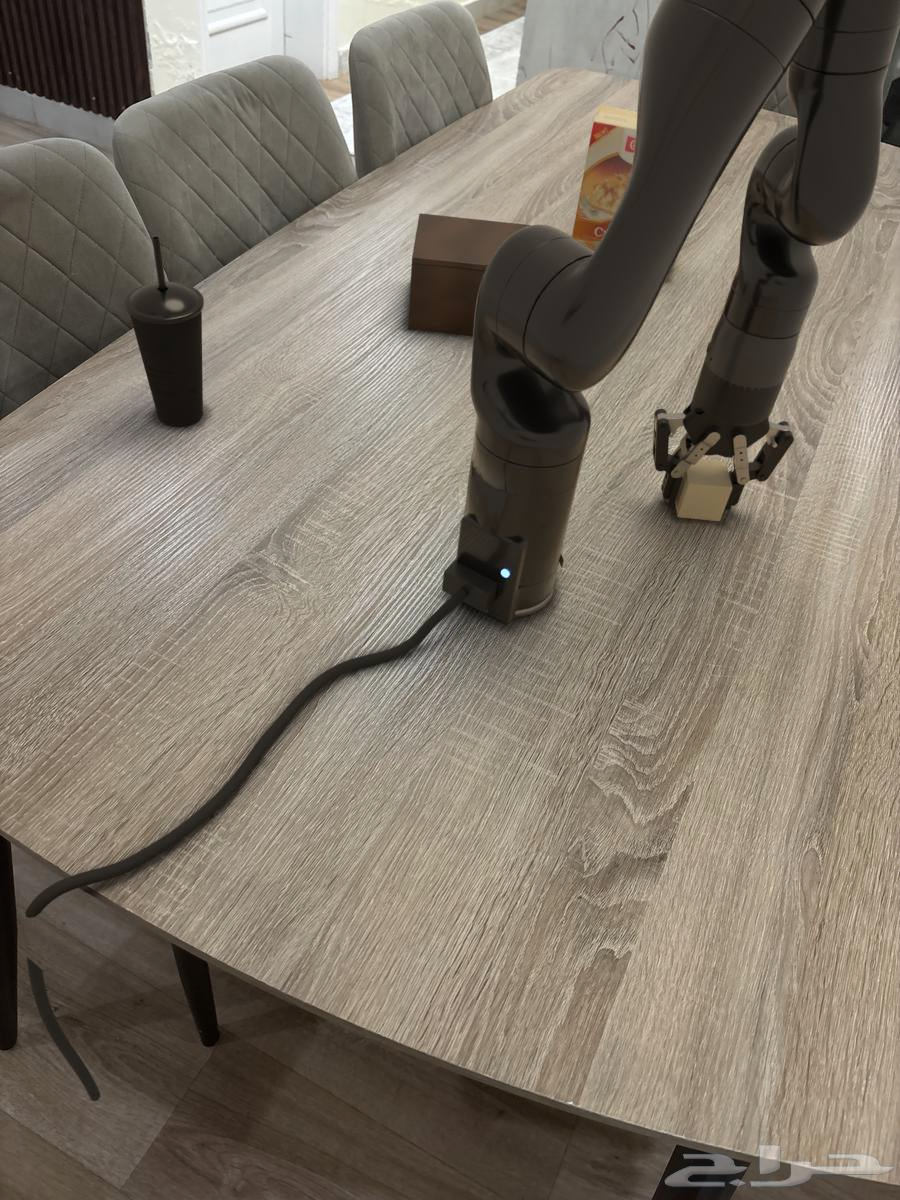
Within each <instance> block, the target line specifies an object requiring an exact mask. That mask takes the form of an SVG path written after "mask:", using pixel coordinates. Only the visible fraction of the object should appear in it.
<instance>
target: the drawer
mask: <svg viewBox="0 0 900 1200" xmlns="http://www.w3.org/2000/svg"><path fill="white" fill-rule="evenodd" d="M599 243H600V241H594V245H593V250H594V251H595V250H596V248H597V246H598V245H599ZM583 244H584V243H583Z"/></svg>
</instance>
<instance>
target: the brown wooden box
mask: <svg viewBox="0 0 900 1200" xmlns="http://www.w3.org/2000/svg"><path fill="white" fill-rule="evenodd" d="M527 226H531V225H530V224H524V223H516V222H505V221H496V220H486V219H478V218H469V217H458V216H448V215H439V214H431V213H430V214H429V213H422V212H421V213H419V214H418V219H417V225H416V232H415V237H414V238H415V239H414V244H413V248H412V249H413V250H412V255H411V266H410V267H411V268H410V284H409V285H410V286H409V301H408V318H407V320H408V321H407V329H408V330H415V331H426V332H437V333H446V334H457V335H464V336H466V335H467V336H473V330H474V317H475V309H476V302H477V296H478V292H479V288H480V284H481V281H482V278H483V275H484V273H485V270H486V268H487V266H488V264H489V262H490V260H491V258H492V256H493V255H494V253H495V252H496V251H497V249H498V248H499V246H500V245H501V244H502V243H503V242H504V241H505V240H506V239H507V238H508V237H509V236H510V235H512V234H513V233H515V232H516V231H518V230H520V229H522V228H524V227H527Z"/></svg>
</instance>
